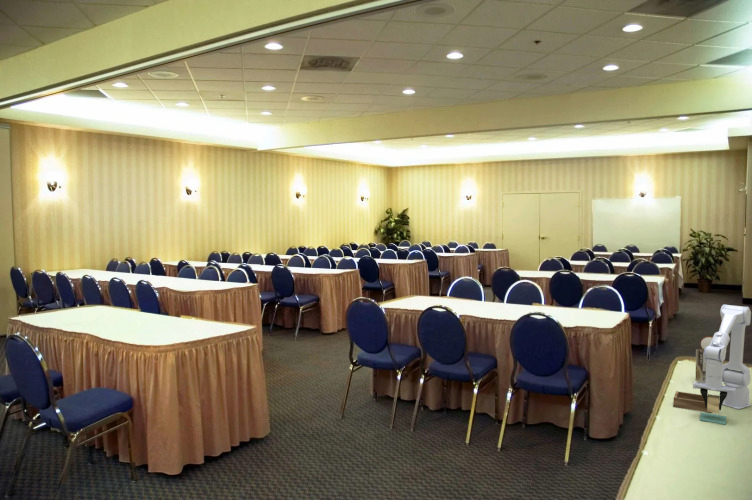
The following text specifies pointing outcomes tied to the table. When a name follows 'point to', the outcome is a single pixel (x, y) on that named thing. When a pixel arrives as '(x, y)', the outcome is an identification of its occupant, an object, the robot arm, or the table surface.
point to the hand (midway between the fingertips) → (713, 408)
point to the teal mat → (713, 418)
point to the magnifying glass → (705, 342)
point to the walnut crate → (689, 401)
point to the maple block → (713, 403)
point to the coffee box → (700, 366)
